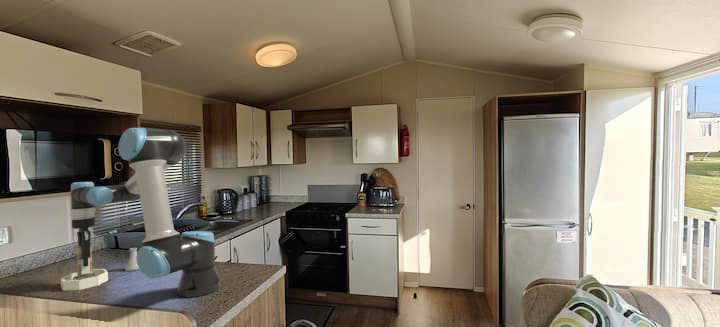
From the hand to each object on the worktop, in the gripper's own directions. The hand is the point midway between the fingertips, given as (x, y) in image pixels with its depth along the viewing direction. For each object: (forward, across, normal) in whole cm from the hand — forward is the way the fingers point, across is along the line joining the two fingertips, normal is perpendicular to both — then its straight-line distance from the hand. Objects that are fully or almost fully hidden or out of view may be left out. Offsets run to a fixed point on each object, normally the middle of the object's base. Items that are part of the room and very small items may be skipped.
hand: (84, 272), depth 137 cm
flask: (+5, +6, -19) cm, 21 cm away
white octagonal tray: (+5, 0, 0) cm, 5 cm away
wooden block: (+3, 0, 0) cm, 3 cm away
